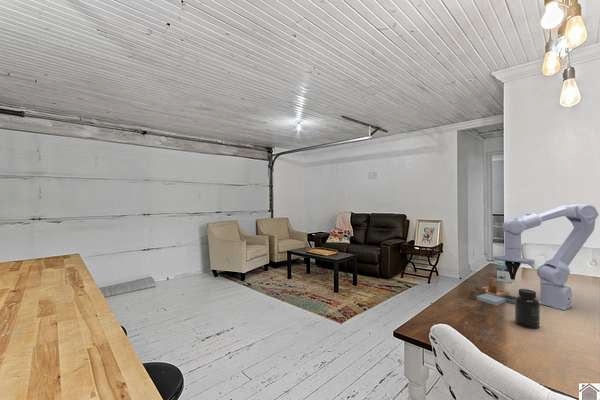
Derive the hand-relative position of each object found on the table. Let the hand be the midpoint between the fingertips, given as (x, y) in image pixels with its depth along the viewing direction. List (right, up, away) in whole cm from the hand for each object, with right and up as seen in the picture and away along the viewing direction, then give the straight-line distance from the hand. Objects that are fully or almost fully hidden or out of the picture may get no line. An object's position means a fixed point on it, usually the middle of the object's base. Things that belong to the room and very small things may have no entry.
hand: (512, 279), depth 122 cm
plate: (-8, -10, +2) cm, 13 cm away
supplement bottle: (-11, -10, -21) cm, 26 cm away
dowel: (-2, -9, +10) cm, 14 cm away
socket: (0, -10, +2) cm, 10 cm away
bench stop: (-11, -10, +6) cm, 16 cm away
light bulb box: (+20, -10, +32) cm, 39 cm away
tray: (-2, -10, +10) cm, 14 cm away
